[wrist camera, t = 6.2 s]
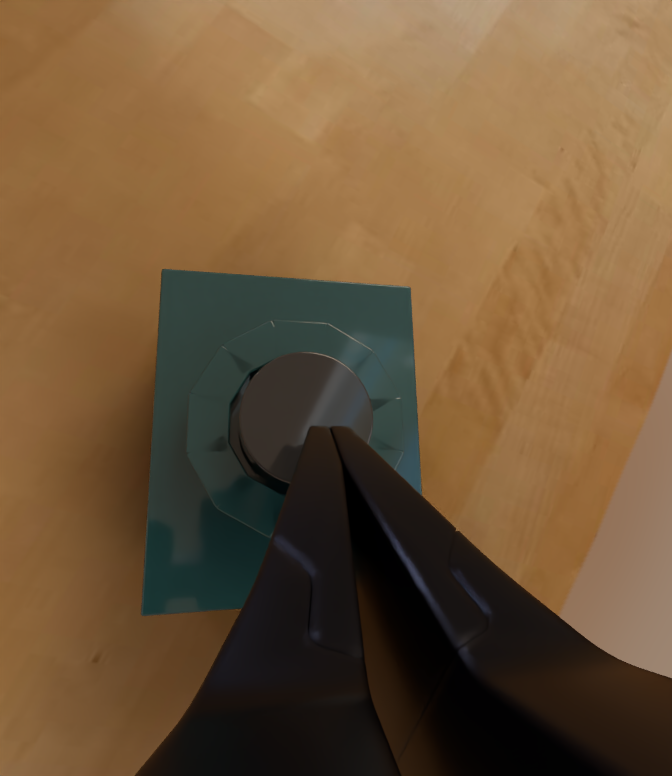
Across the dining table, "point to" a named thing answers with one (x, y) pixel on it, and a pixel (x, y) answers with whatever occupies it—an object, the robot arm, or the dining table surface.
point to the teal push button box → (221, 417)
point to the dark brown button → (298, 408)
